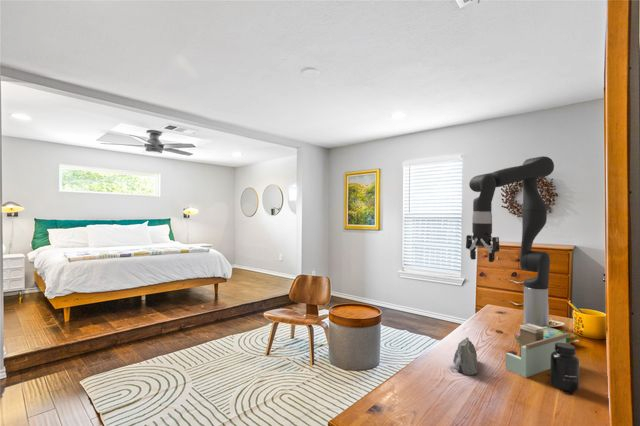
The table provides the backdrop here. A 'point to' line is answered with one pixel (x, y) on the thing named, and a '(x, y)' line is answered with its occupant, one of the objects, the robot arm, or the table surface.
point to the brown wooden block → (530, 334)
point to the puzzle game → (551, 335)
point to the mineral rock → (466, 357)
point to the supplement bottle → (564, 368)
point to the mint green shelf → (534, 356)
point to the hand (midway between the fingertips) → (481, 260)
